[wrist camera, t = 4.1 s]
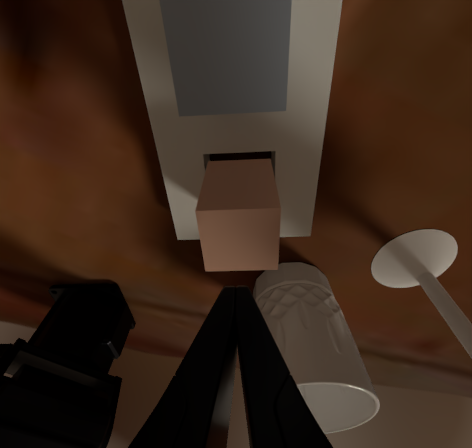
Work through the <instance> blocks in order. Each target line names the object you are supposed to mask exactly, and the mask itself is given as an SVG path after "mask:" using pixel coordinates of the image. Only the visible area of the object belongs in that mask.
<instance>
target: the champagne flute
mask: <svg viewBox="0 0 472 448" xmlns="http://www.w3.org/2000/svg"><path fill="white" fill-rule="evenodd" d="M457 247H458V246H457V243H456V241H455V239H454V238H453V237H452V236H451V235H449V234H448V233H446V232H443V231H441V230H435V229H423V230H416V231H412V232H409V233H405V234H403V235H401V236H398V237H396V238H395V239H393V240H391V241H390V242H388V243H387V244H386V245H384V246H383V247H382V248H381V249H380V250H379V251H378V252H377V254H376V255H375V257H374V259H373V262H372V265H371V271H372V275H373V277H374V278H375V279H376V280H377V281H378V282H379V283H381V284H383V285H385V286H388V287H395V288H405V287H412V286H416V285H421V287H422V288H423V289H424V291H425V292H426V294H427V295H428V297H429V298H430V300H431V301H432V302H433V304H434V305H435V307H436V308H437V310H438V311H439V312H440V314H441V315H442V317H443V318H444V320H445V321H446V322H447V324H448V325H449V327H450V328H451V330H452V331H453V333H454V334H455V335H456V337H457V338H458V340H459V341H460V343H461V344H462V345H463V347H464V348H465V350H466V351H467V353H468V354H469V356H470V357H471V358H472V324H471V322H470V321H469V320H468V319H467V317H466V316H465V315H464V313H463V312H462V311H461V310H460V308H459V307H458V306H457V304H456V303H455V302H454V301H453V299H452V298H451V297H450V295H449V294H448V293H447V292H446V290H445V289H444V288H443V286H442V285H441V284H440V283H439V281H438V280H437V279H436V277H437V276H439V275H440V274H442V273H443V272H444V271H445V270H447V269H448V267H449V266H450V265H451V264H452V263H453V261H454V259H455V257H456V254H457Z"/></svg>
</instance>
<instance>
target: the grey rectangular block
mask: <svg viewBox="0 0 472 448" xmlns="http://www.w3.org/2000/svg"><path fill="white" fill-rule="evenodd" d="M159 1H160V7H161V13H162V19H163V25H164V31H165V37H166V42H167V48H168V54H169V60H170V66H171V72H172V78H173V84H174V89H175V95H176V101H177V107H178V113H179V117H180V116H199V115H218V114H238V113H257V112H276V111H286V103H287V84H288V64H289V45H290V25H291V5H292V0H159Z"/></svg>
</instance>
